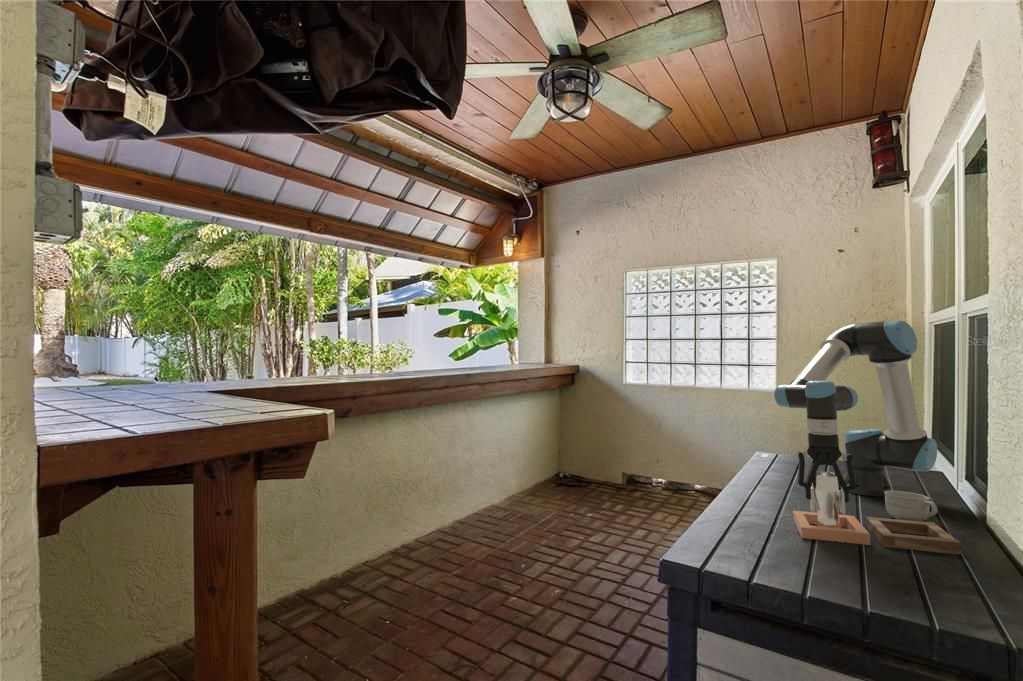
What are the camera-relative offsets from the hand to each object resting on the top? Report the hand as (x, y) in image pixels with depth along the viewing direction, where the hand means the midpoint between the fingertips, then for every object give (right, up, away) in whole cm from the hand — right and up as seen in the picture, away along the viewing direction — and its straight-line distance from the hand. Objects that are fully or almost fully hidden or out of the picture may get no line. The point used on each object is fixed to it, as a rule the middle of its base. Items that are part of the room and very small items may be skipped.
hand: (827, 511), depth 137 cm
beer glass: (0, -4, 0) cm, 4 cm away
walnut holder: (+18, -5, -8) cm, 20 cm away
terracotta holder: (0, -6, 0) cm, 6 cm away
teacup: (+30, -6, +6) cm, 31 cm away
